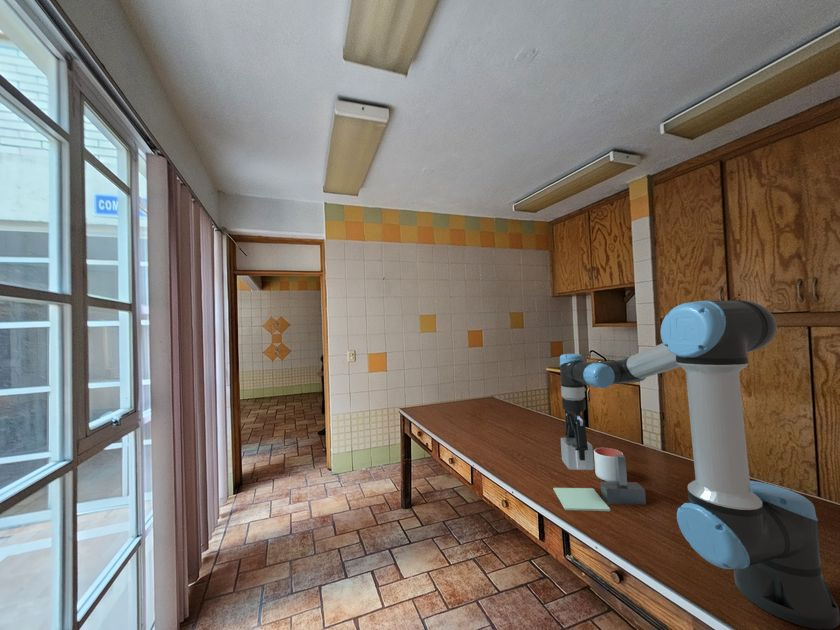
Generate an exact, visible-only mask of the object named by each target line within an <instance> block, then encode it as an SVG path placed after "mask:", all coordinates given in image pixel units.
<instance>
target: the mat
mask: <svg viewBox="0 0 840 630" xmlns="http://www.w3.org/2000/svg"><path fill="white" fill-rule="evenodd" d="M553 492H554V494H556V496H557V498H558V500H559V502H560V503H561V505H562V507H563V509H564V511H585V512H586V511H587V512H588V511H590V512H591V511H592V512H611V508H610V507H609V506H608V504H607V503H606V501H605V500H604V499H603V498H602V496H600V495H599V493H597V491H596V490H595V488H592V487H590V488H589V487H553Z"/></svg>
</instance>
